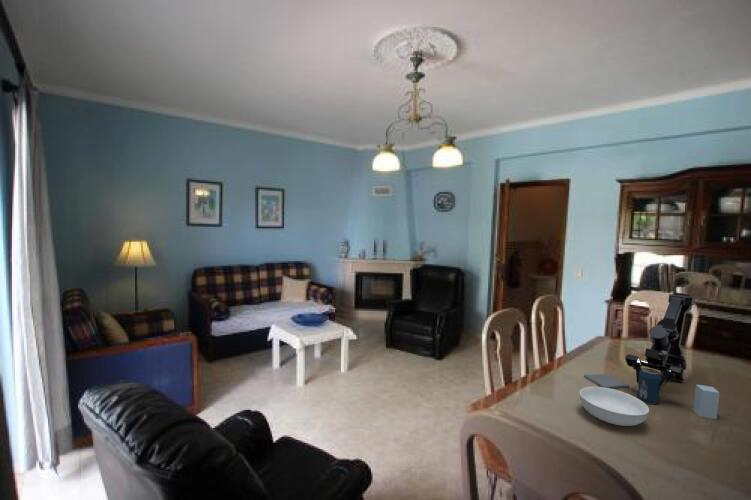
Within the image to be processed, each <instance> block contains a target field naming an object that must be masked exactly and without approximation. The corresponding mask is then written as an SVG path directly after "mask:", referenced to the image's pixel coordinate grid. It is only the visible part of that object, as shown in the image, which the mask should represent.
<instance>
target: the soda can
mask: <svg viewBox="0 0 751 500" xmlns="http://www.w3.org/2000/svg"><path fill="white" fill-rule="evenodd" d="M641 368H642V367H641ZM659 374H660V371H659V370H656V369H652V368H648V367H643V368H642V369H641V371H640V372H639V380H638V383H637V391H636V396H637V398H638V399H639V400H641V401H642V402H644V403H645V404H650V405H656V404H657V403H658V402H659V401H660V390H661V389H658V386H659V383H660V381H661V379H662V377H660V375H659Z"/></svg>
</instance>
